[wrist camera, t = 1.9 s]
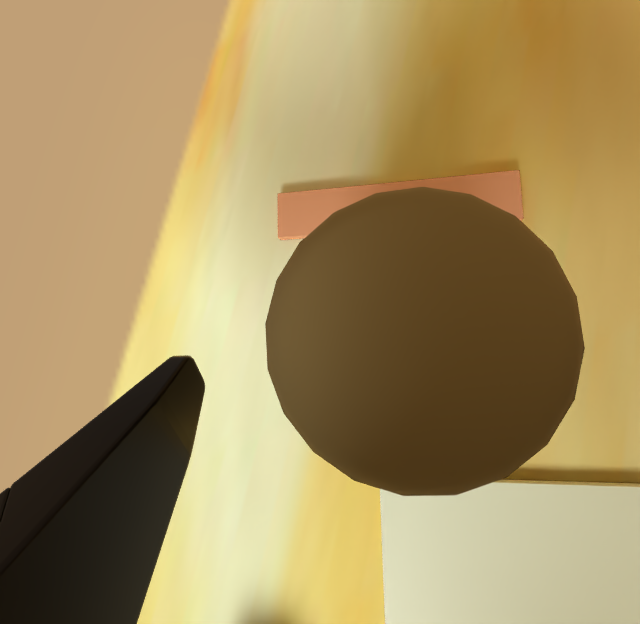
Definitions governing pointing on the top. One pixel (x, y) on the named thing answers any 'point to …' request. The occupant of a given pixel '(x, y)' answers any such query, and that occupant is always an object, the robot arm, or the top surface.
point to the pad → (513, 554)
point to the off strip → (317, 205)
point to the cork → (424, 342)
